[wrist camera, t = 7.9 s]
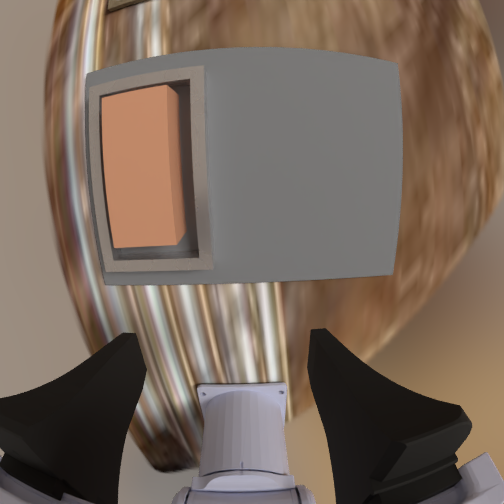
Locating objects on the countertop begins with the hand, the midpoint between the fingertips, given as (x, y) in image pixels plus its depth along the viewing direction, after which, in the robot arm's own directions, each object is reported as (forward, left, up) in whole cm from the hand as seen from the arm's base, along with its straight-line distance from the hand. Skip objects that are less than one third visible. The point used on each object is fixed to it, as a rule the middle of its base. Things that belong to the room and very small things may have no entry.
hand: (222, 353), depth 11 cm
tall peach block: (+7, +5, -9) cm, 13 cm away
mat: (+7, -1, -9) cm, 12 cm away
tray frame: (+7, +5, -9) cm, 13 cm away
